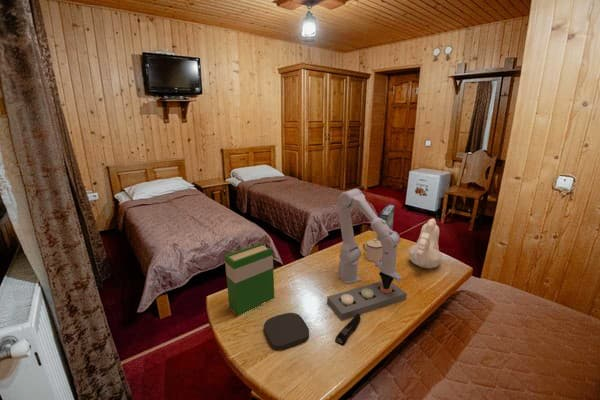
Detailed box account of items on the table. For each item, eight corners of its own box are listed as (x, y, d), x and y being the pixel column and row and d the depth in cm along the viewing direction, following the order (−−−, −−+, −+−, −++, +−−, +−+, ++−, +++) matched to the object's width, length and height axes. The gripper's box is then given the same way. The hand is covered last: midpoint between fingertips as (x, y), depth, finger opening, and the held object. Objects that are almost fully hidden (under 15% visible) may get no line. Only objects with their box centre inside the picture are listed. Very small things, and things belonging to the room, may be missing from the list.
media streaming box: (273, 354, 95) (273, 347, 94) (261, 326, 108) (261, 319, 107) (312, 340, 101) (313, 333, 100) (296, 315, 113) (296, 309, 113)
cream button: (338, 300, 118) (338, 296, 117) (348, 297, 120) (349, 293, 119) (345, 308, 114) (345, 302, 113) (355, 304, 116) (355, 299, 115)
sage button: (358, 294, 122) (359, 290, 121) (368, 292, 124) (368, 287, 123) (365, 301, 118) (366, 296, 117) (375, 298, 119) (376, 293, 119)
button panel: (327, 302, 120) (327, 296, 120) (387, 284, 133) (387, 279, 132) (342, 320, 110) (342, 313, 109) (406, 299, 122) (406, 293, 121)
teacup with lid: (385, 258, 157) (387, 239, 154) (376, 264, 151) (377, 244, 148) (367, 251, 166) (368, 232, 162) (357, 256, 160) (358, 237, 156)
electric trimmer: (363, 322, 110) (363, 315, 109) (343, 347, 98) (343, 339, 97) (354, 318, 112) (354, 311, 111) (334, 342, 100) (334, 334, 99)
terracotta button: (377, 290, 126) (377, 286, 125) (386, 288, 128) (386, 283, 127) (385, 297, 122) (385, 292, 121) (394, 294, 124) (394, 289, 123)
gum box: (383, 238, 183) (386, 204, 177) (391, 239, 181) (395, 205, 174) (376, 250, 167) (378, 213, 160) (384, 252, 164) (387, 214, 158)
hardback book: (265, 290, 129) (262, 242, 122) (274, 298, 124) (272, 248, 117) (229, 307, 118) (224, 255, 111) (238, 316, 113) (233, 262, 106)
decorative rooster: (417, 253, 162) (421, 212, 155) (445, 263, 151) (452, 219, 144) (394, 269, 146) (398, 224, 139) (424, 281, 135) (431, 233, 128)
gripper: (408, 265, 115) (405, 294, 119) (384, 251, 128) (382, 277, 132) (394, 269, 113) (392, 299, 117) (372, 254, 125) (370, 281, 129)
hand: (386, 288), depth 124 cm, fingers closed, pressing on terracotta button
